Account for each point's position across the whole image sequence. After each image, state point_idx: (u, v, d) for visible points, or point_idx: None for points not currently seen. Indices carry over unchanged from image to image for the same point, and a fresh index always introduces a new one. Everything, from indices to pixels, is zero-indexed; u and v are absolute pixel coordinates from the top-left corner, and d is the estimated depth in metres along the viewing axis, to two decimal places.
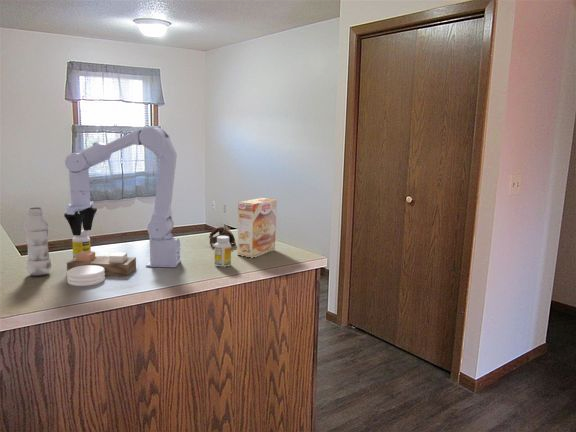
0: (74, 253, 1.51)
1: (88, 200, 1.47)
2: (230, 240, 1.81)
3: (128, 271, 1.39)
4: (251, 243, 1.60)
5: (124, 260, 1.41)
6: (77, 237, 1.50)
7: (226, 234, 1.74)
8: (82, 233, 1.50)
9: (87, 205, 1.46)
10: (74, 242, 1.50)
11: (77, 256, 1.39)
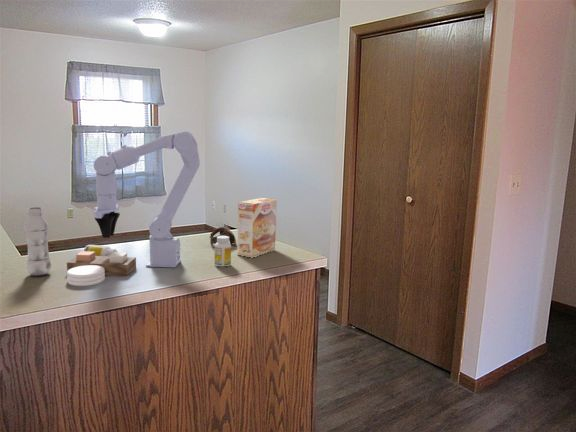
0: None
1: (115, 203, 1.44)
2: (231, 240, 1.81)
3: (128, 271, 1.39)
4: (251, 243, 1.60)
5: (124, 260, 1.41)
6: None
7: (227, 234, 1.74)
8: None
9: (114, 208, 1.44)
10: (100, 255, 1.48)
11: (77, 256, 1.39)
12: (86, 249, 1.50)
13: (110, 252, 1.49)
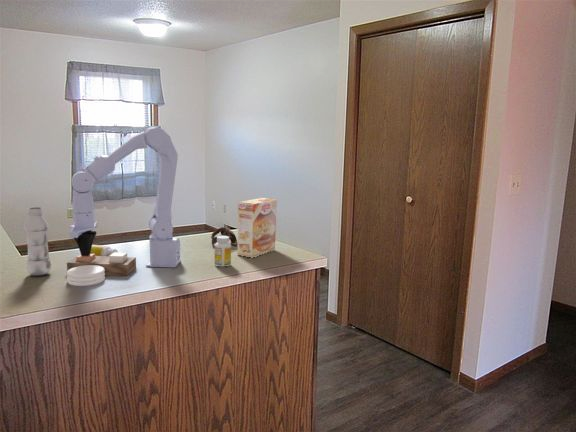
0: (90, 253, 1.49)
1: (92, 222, 1.39)
2: (232, 240, 1.81)
3: (128, 271, 1.39)
4: (251, 243, 1.60)
5: (124, 260, 1.41)
6: None
7: (228, 234, 1.74)
8: None
9: (91, 227, 1.39)
10: (100, 254, 1.48)
11: (77, 258, 1.40)
12: None
13: (111, 252, 1.49)
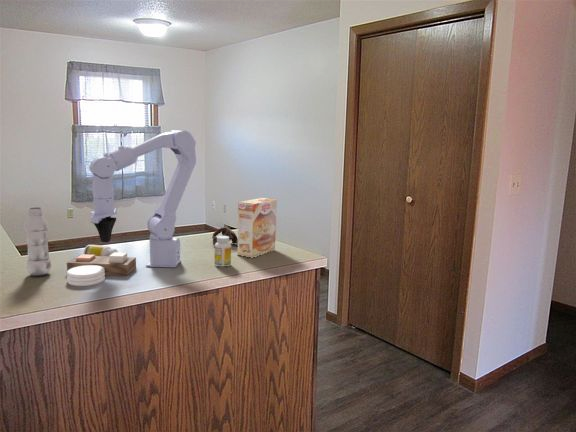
0: (90, 253, 1.49)
1: (112, 207, 1.38)
2: (233, 240, 1.81)
3: (128, 271, 1.39)
4: (251, 243, 1.60)
5: (124, 260, 1.41)
6: None
7: (229, 234, 1.74)
8: None
9: (111, 213, 1.38)
10: (100, 254, 1.48)
11: (77, 259, 1.40)
12: (86, 249, 1.50)
13: (111, 252, 1.49)
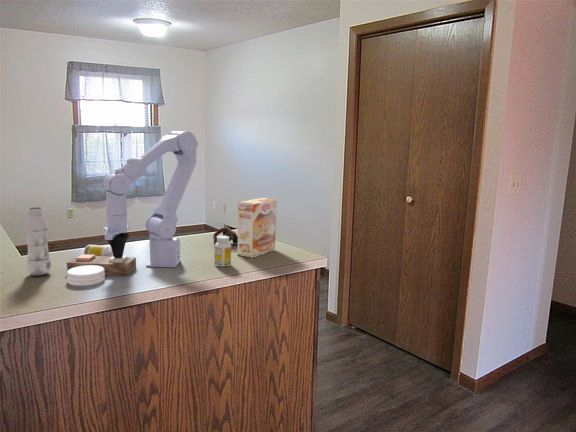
0: (90, 253, 1.49)
1: (125, 224, 1.39)
2: (234, 240, 1.81)
3: (128, 271, 1.39)
4: (251, 243, 1.60)
5: None
6: None
7: (230, 234, 1.74)
8: None
9: (124, 229, 1.39)
10: (100, 254, 1.48)
11: (77, 259, 1.40)
12: (86, 249, 1.50)
13: (111, 252, 1.49)
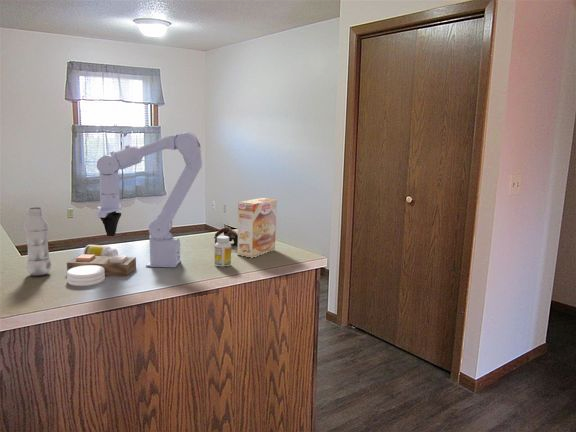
0: (90, 253, 1.49)
1: (118, 203, 1.45)
2: (235, 240, 1.80)
3: (128, 271, 1.39)
4: (251, 243, 1.60)
5: None
6: None
7: (231, 234, 1.74)
8: None
9: (117, 208, 1.45)
10: (100, 254, 1.48)
11: (77, 259, 1.40)
12: (86, 249, 1.50)
13: (111, 252, 1.49)
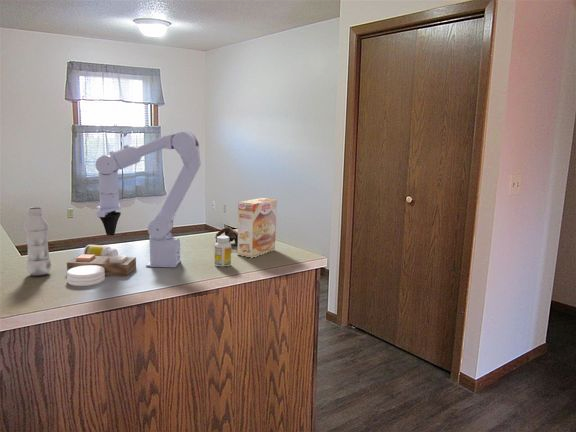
0: (90, 253, 1.49)
1: (117, 202, 1.46)
2: (236, 240, 1.80)
3: (128, 271, 1.39)
4: (251, 243, 1.60)
5: None
6: None
7: (233, 235, 1.73)
8: None
9: (116, 207, 1.46)
10: (100, 254, 1.48)
11: (77, 259, 1.40)
12: (86, 249, 1.50)
13: (111, 252, 1.49)
